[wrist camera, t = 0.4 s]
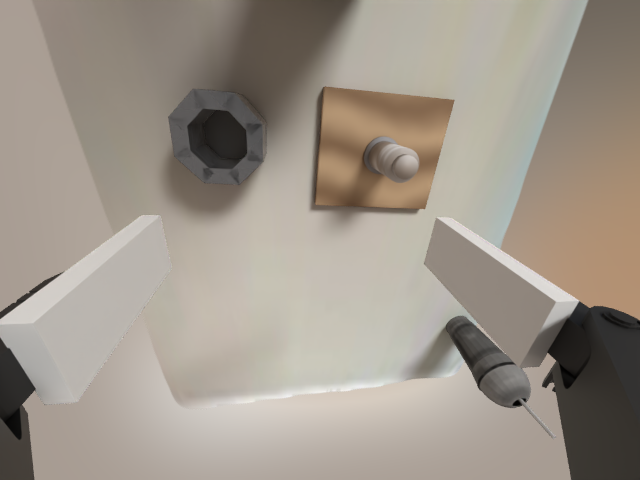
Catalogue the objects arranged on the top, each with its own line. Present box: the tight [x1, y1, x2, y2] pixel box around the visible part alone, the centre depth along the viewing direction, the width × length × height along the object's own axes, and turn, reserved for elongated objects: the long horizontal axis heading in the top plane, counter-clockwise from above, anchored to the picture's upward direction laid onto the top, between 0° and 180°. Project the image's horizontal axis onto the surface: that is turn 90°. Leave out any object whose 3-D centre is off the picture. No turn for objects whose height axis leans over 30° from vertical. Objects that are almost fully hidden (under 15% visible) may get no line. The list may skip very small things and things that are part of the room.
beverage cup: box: [446, 316, 556, 439], centre depth 43 cm, size 7×7×20 cm
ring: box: [168, 89, 267, 185], centre depth 29 cm, size 9×9×6 cm
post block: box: [315, 87, 454, 209], centre depth 31 cm, size 14×16×9 cm
